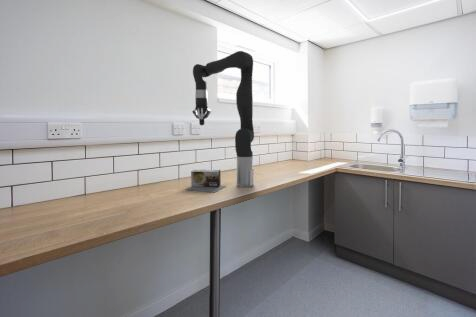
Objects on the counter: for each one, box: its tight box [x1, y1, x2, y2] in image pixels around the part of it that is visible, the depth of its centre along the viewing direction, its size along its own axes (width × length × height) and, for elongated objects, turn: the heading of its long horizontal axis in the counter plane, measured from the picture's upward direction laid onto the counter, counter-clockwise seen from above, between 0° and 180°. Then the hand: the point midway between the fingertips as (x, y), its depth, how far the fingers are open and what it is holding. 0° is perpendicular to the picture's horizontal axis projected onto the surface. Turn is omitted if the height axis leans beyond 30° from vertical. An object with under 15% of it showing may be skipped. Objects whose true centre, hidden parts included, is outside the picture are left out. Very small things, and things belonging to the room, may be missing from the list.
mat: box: [185, 185, 227, 193], centre depth 147 cm, size 18×15×1 cm
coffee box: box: [190, 169, 222, 187], centre depth 151 cm, size 9×6×16 cm
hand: (201, 125), depth 168 cm, fingers closed
